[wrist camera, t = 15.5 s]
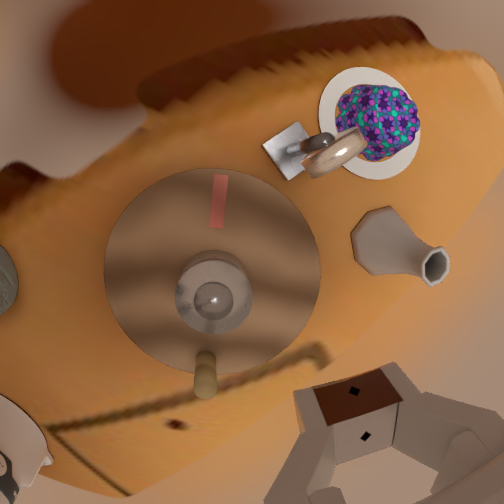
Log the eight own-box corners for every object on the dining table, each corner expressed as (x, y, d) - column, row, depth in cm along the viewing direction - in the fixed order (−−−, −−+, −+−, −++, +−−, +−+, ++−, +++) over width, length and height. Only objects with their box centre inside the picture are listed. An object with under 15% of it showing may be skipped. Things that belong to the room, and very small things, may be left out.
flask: (415, 249, 32) (473, 276, 23) (367, 285, 33) (416, 325, 23) (392, 194, 30) (453, 205, 21) (338, 230, 31) (388, 256, 21)
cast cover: (243, 315, 29) (248, 339, 24) (178, 310, 28) (173, 333, 24) (251, 252, 27) (258, 267, 23) (182, 246, 27) (175, 260, 22)
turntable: (296, 367, 33) (312, 407, 26) (115, 354, 31) (97, 393, 24) (328, 182, 29) (360, 186, 22) (114, 162, 26) (84, 160, 19)
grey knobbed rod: (284, 181, 29) (329, 188, 17) (259, 146, 28) (289, 128, 16) (320, 155, 29) (384, 147, 17) (296, 121, 28) (348, 91, 16)
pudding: (304, 71, 27) (321, 53, 22) (403, 70, 27) (430, 58, 22) (328, 187, 30) (349, 190, 25) (423, 172, 30) (453, 174, 25)
